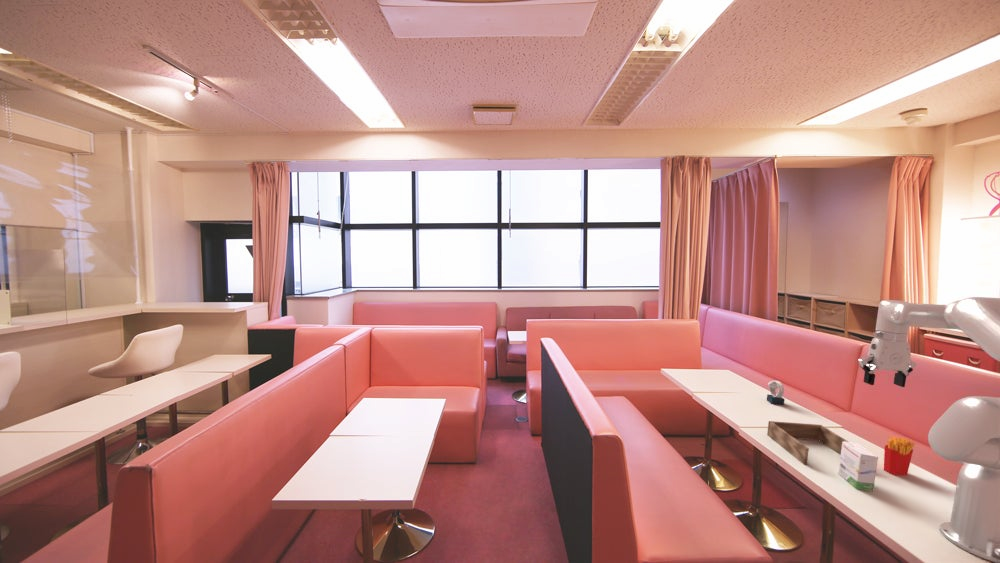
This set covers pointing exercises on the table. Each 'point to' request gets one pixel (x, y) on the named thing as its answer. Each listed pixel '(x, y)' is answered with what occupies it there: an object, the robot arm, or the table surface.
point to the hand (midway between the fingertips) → (883, 384)
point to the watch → (773, 397)
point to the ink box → (858, 466)
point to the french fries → (898, 455)
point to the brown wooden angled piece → (802, 437)
